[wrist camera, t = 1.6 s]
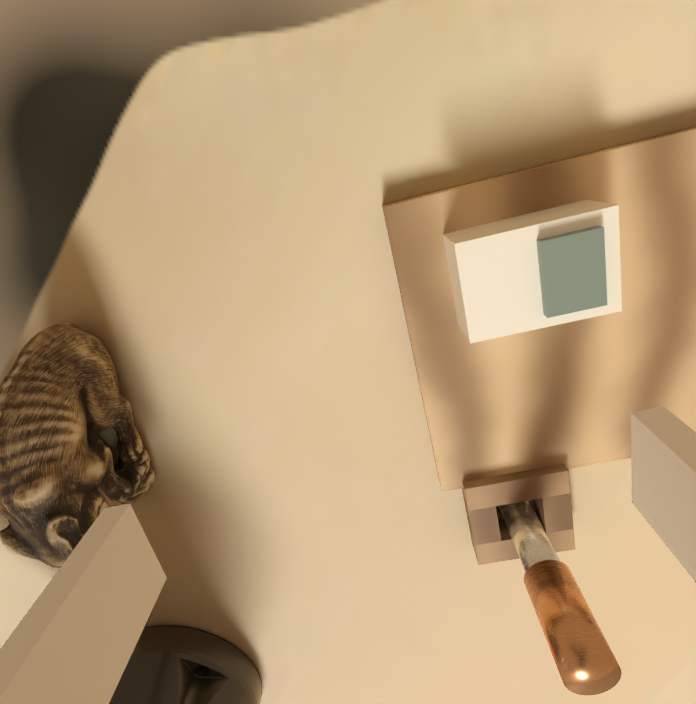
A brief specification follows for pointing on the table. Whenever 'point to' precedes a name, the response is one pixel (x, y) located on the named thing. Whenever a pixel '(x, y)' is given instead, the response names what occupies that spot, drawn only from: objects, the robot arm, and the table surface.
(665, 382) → the plywood panel
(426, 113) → the table surface
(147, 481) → the figurine
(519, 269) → the block
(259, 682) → the robot arm
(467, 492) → the tool rest
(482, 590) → the table surface
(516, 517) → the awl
